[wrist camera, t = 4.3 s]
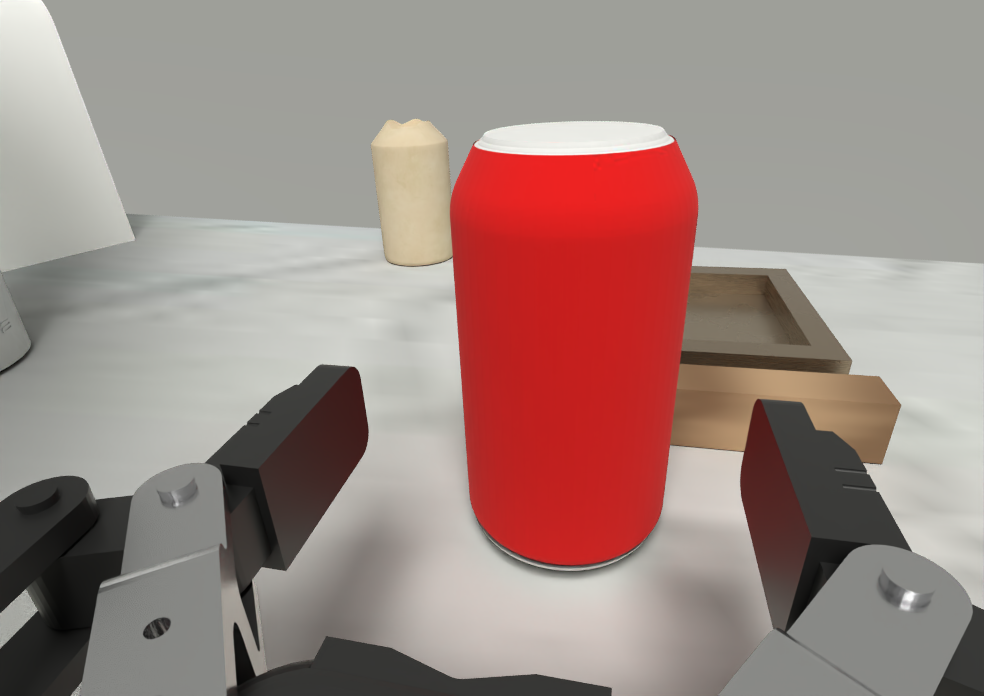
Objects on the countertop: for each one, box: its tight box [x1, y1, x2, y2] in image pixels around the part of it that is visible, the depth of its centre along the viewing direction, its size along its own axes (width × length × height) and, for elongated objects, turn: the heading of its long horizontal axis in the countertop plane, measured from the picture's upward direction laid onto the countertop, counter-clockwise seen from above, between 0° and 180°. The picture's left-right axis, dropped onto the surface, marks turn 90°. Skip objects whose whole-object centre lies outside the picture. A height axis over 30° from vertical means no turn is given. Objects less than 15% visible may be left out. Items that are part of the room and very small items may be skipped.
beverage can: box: [450, 121, 698, 571], centre depth 16 cm, size 6×6×12 cm
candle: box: [371, 119, 453, 266], centre depth 43 cm, size 6×6×10 cm
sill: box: [670, 364, 901, 464], centre depth 23 cm, size 14×2×2 cm, turn 78°
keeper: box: [680, 266, 852, 375], centre depth 30 cm, size 12×12×2 cm
